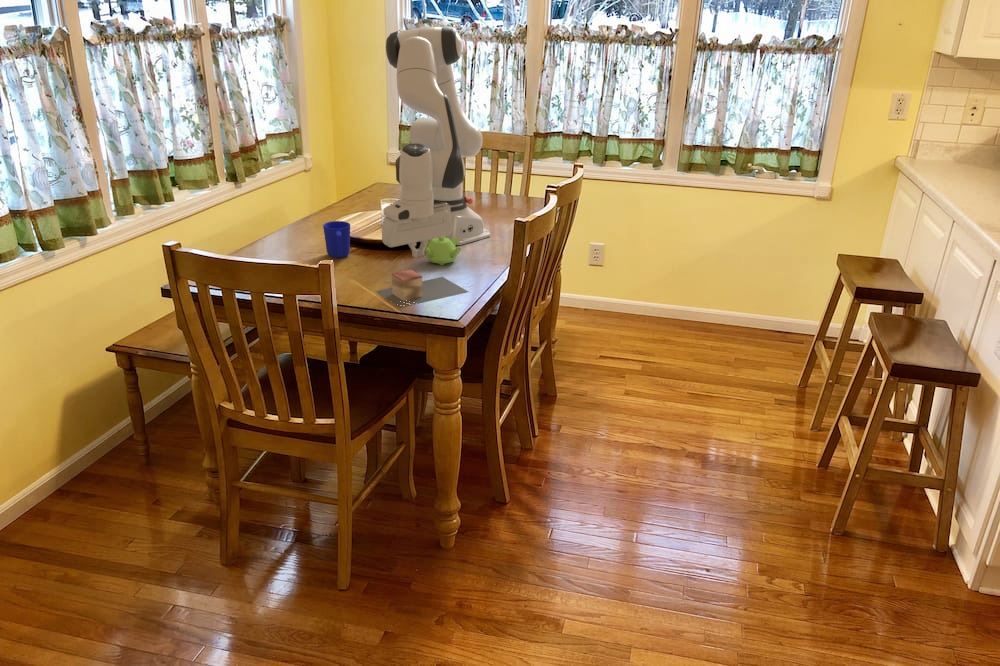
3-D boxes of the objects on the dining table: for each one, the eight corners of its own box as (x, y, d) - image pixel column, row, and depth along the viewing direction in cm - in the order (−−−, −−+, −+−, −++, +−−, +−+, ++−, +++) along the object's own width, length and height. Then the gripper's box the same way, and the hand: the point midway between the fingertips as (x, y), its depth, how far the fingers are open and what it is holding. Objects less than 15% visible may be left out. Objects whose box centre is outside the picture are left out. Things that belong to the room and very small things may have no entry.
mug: (327, 264, 243) (325, 233, 239) (324, 252, 254) (322, 221, 249) (354, 263, 245) (352, 231, 241) (350, 250, 256) (348, 220, 251)
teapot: (423, 256, 252) (422, 230, 249) (459, 256, 253) (459, 230, 250) (423, 268, 242) (422, 242, 239) (461, 268, 243) (461, 242, 240)
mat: (442, 278, 235) (442, 276, 235) (468, 293, 225) (468, 291, 225) (375, 292, 224) (375, 291, 223) (399, 309, 213) (399, 307, 213)
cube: (391, 273, 219) (392, 293, 222) (402, 280, 215) (403, 300, 218) (410, 269, 223) (411, 289, 225) (422, 275, 218) (422, 296, 221)
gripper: (444, 198, 221) (444, 245, 227) (377, 210, 210) (380, 259, 216) (456, 204, 217) (456, 252, 223) (389, 216, 206) (391, 266, 212)
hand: (418, 256), depth 219 cm, fingers closed
